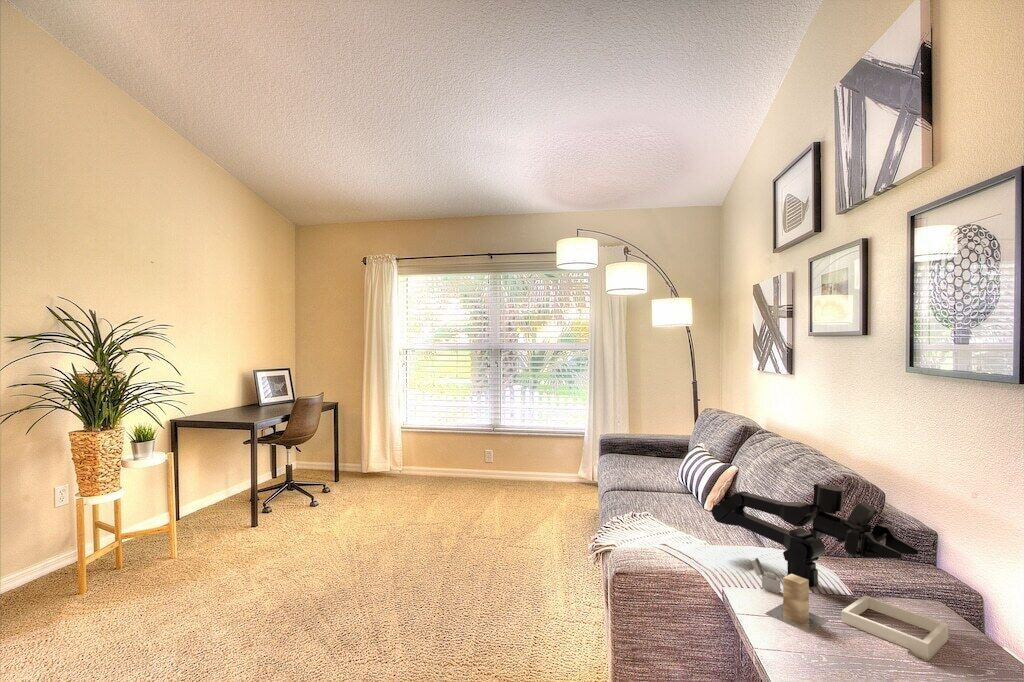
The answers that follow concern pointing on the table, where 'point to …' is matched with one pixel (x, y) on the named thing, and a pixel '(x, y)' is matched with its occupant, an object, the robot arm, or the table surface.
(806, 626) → the base plate
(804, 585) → the strut
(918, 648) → the rectangular frame
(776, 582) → the lighter
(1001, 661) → the table surface
